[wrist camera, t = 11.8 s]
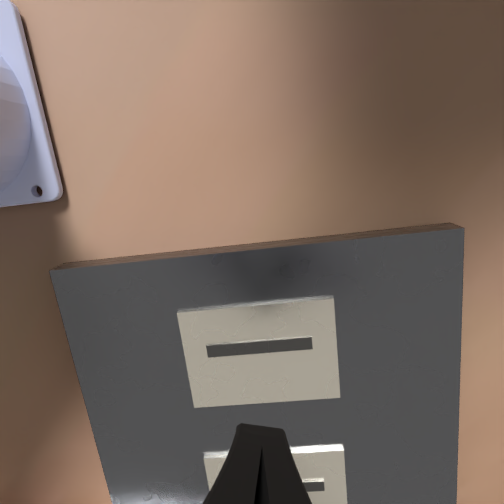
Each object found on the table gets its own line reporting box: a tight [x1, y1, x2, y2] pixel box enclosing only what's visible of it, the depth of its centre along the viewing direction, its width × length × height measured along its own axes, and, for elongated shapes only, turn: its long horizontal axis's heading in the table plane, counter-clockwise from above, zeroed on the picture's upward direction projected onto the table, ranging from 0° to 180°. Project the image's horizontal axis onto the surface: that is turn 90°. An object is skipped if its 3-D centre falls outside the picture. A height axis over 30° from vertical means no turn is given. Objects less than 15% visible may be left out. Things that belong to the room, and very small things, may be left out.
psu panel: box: [49, 223, 464, 504], centre depth 18 cm, size 18×21×2 cm
